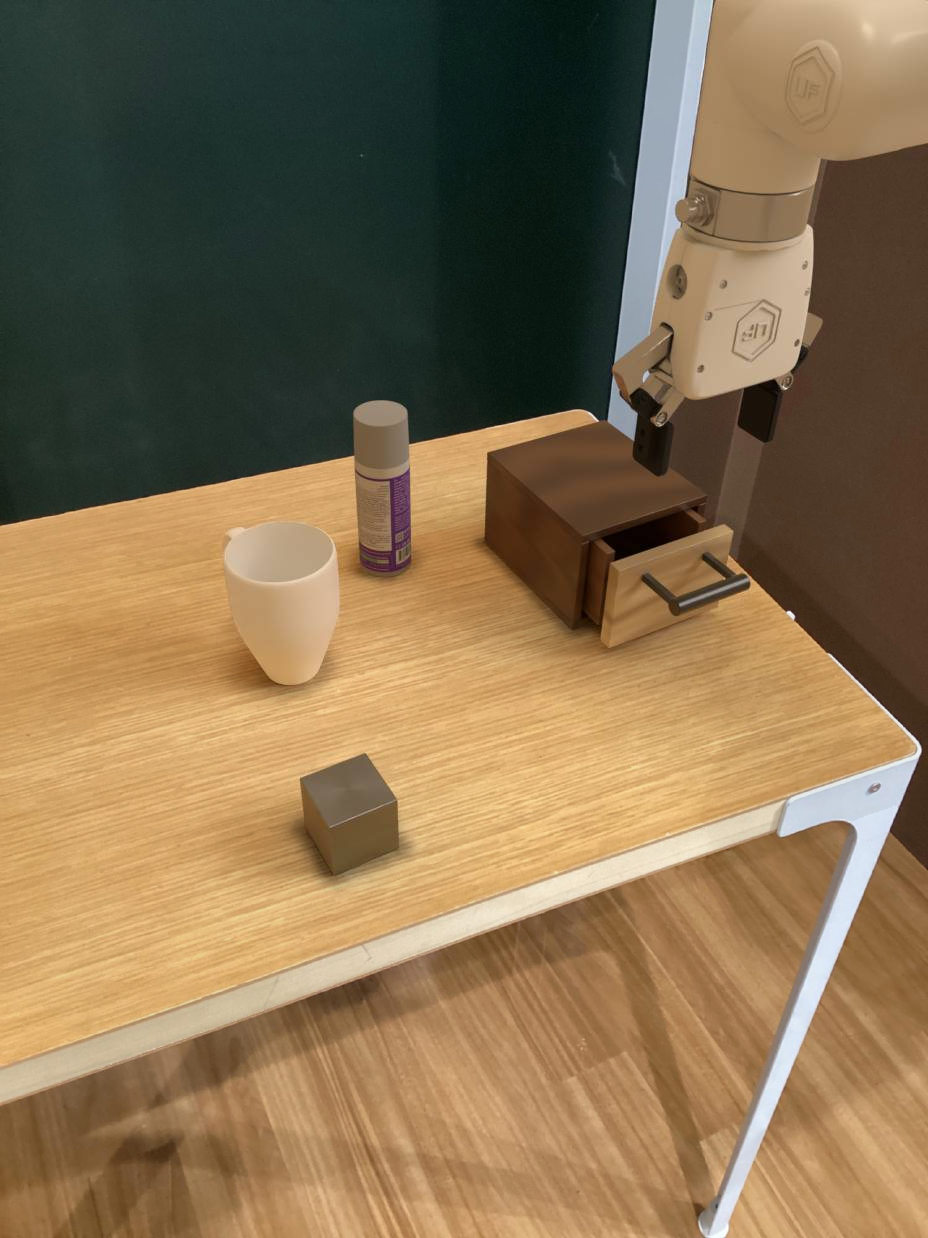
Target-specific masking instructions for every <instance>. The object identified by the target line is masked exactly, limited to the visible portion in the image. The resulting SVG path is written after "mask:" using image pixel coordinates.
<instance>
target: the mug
mask: <svg viewBox="0 0 928 1238" xmlns="http://www.w3.org/2000/svg"><path fill="white" fill-rule="evenodd" d="M221 549H222V567H223V574H224V581H225V587H226V588H225V589H226V593H227V594H226V595H227V600H228V605H229V611H230V614H231V617H232V620H233V623H234V626H235V628H236V630H237V632H238V634H239V637H241V639H242V641H243V642H244V644H245V645H246V647H247V648H248V650H249V651H250V653H251V654H252V656H253V657H254V658H255V660H256V662H257V663H258V664H259V666H260V667H261V669H262V670H263V672H264V674H266V676H267V677H268V678H269V679H270V680H271V681H273V682H274V683H276V684H279V685H282V686H296V685H301V684H304V683H307V682H309V681H310V680H312V679H313V678H314V677H316V675H317V674H318V672H319V671H320V668H321V666H322V664H323V661H324V657H325V655H326V653H327V650H328V647H329V646H330V643H331V639H332V637H333V635H334V633H335V629H336V627H337V623H338V619H339V613H340V605H341V591H340V590H341V589H340V577H339V564H338V563H339V562H338V552H337V547H336V545H335V542H334V540H333V539H332V537H331V536H330V535H329V534H328V533H327V532H325V531H324V530H323V529H321V528H319V527H318V526H316V525H313V524H310V523H306V522H304V521H303V522H302V521H296V520H275V521H268V522H262V523H259V524H255V525H253V526H251V527H247V528H245V527H243V526H237V527H232V528H230V529H228V530H227V531H226V532H225V533H224V534H223V536H222V539H221Z"/></svg>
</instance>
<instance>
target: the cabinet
mask: <svg viewBox="0 0 928 1238" xmlns="http://www.w3.org/2000/svg"><path fill="white" fill-rule="evenodd" d="M633 444H634V439H632V438H631V437H629V436H627V435H626V434H625V433H623V432H622V431H621V430H619V429H618V428H617V427H615V426H614V425H613V424H612V423H610V422H609V421H607V420H606V419H602V420H599V421H596V422H592V423H588V424H584V425H581V426H577V427H573V428H570V429H566V430H563V431H559V432H556V433H553V434H548V435H545V436H541V437H537V438H533V439H530V440H526V441H523V442H520V443H516V444H512V445H509V446H505V447H502V448H498V449H495V450H491V451H487V453H486V479H485V480H486V481H485V482H486V483H485V510H484V511H485V513H484V539H483V542H484V544H485V545H486V546H487V547H488V548H489V549H490V550H491V551H492V552H493V553H494V554H495V555H496V556H497V557H498V558H499V559H500V560H501V561H502V562H503V563H504V564H505V565H506V566H507V567H508V568H509V569H510V570H511V571H512V572H513V573H514V574H515V575H516V576H517V577H518V578H519V579H520V580H521V581H522V582H524V584H526V586H527V587H529V589H530V590H531V591H532V592H534V594H535V595H537V596H538V598H539V599H540V600H542V602H543V603H545V605H547V606H548V608H550V610H551V611H552V612H554V613H555V614H556V615H557V616H558V617H559V618H560V619H561V620H562V621H563V623H564V624H565V625H566V626H568V628H570V629H571V630H572V631H574V630H576V629H580V628H582V627H585V626H587V625H590V624H593V623H595V622H594V621H593V620H592V619H591V618H590V617H589V616H588V615H587V614H586V613H585V612H584V611H583V610H582V603H583V594H584V584H585V575H586V566H587V557H588V548H589V541H592V540H595V539H598V538H601V537H604V536H607V535H610V534H613V533H616V532H619V531H622V530H625V529H628V528H631V527H634V526H637V525H640V524H643V523H646V522H649V521H653V520H656V519H659V518H662V517H665V516H668V515H671V514H674V513H677V512H680V511H683V510H686V509H689V508H691V509H692V510H693V511H695V512H696V513H697V514H699V515H700V516H701V517H703V518H704V515H705V510H706V506H707V505H706V504H707V500H708V494H707V493H705V492H704V491H703V490H702V489H700V488H699V487H697V486H696V485H694V484H693V483H692V482H690V481H689V480H688V479H686V478H685V477H683V476H682V475H681V474H680V473H679V472H677V471H675V469H673V468H671V466H669V465H668V471H667V472H666V474H665V475H662V476H659V477H657V476H656V475H654V474H653V473H652V472H650V471H649V470H647V469H646V468H645V467H643V466H642V465H641V464H639V463H638V462H637V461H635V460H634V458H633V455H632V452H633Z"/></svg>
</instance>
